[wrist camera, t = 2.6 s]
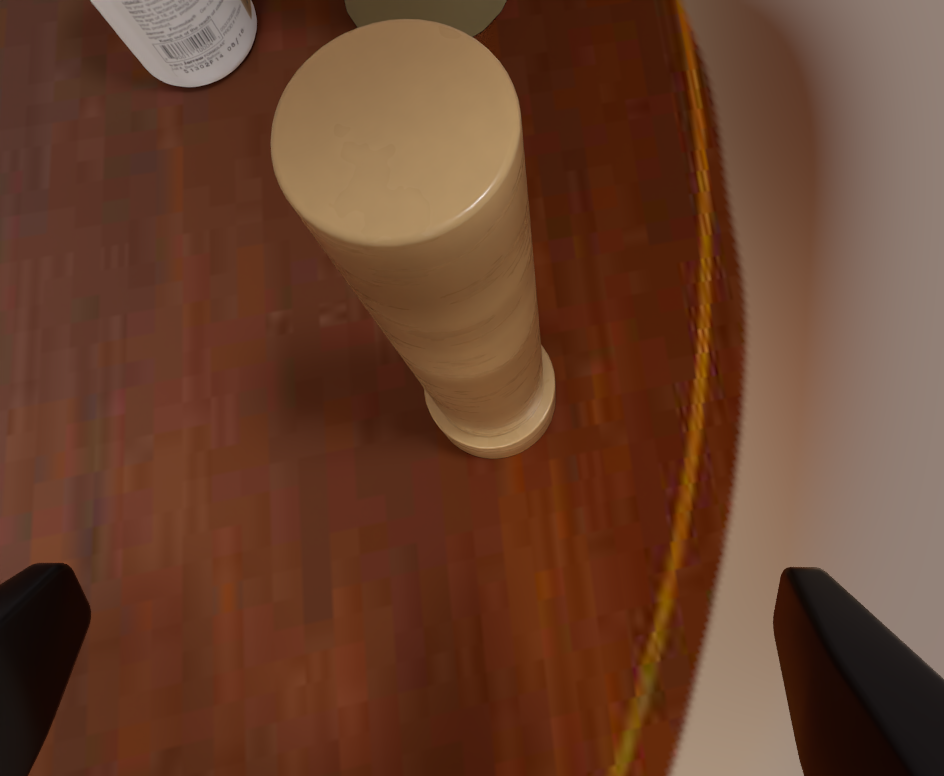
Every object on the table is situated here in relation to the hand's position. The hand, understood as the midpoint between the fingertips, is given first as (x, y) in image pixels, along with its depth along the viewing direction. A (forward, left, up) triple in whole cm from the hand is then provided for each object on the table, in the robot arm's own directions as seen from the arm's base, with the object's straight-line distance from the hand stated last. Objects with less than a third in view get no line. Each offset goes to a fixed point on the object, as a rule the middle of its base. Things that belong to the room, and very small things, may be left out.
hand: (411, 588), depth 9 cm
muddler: (+5, -2, -12) cm, 13 cm away
